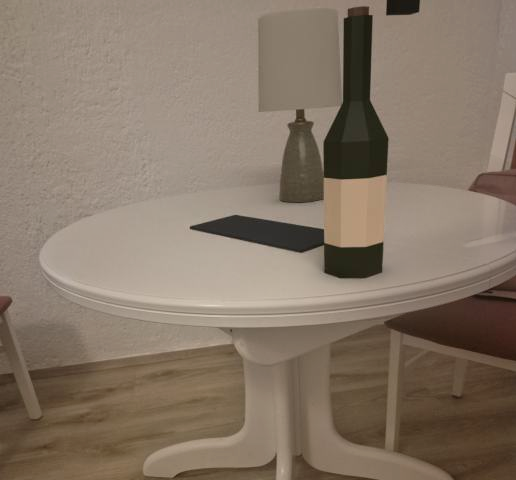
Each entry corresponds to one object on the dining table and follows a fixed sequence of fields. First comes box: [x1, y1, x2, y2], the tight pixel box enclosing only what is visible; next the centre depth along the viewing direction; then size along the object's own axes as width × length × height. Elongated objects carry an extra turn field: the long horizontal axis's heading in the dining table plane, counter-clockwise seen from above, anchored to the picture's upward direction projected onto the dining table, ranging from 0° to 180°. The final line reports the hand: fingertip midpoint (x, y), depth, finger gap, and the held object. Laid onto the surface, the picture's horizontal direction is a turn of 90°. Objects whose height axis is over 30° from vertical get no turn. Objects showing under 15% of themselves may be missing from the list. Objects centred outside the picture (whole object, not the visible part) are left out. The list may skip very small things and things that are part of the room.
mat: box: [189, 214, 324, 253], centre depth 89 cm, size 30×12×1 cm, turn 43°
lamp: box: [257, 7, 343, 203], centre depth 108 cm, size 19×19×37 cm
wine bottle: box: [322, 5, 389, 279], centre depth 60 cm, size 8×8×30 cm
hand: (402, 13), depth 46 cm, fingers closed
